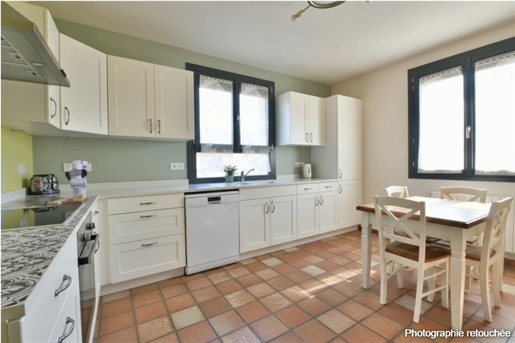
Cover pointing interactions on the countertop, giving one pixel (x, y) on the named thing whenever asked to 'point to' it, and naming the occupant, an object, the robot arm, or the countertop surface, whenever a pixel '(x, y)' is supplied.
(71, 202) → the trap deck
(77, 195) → the maple block
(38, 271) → the countertop surface
